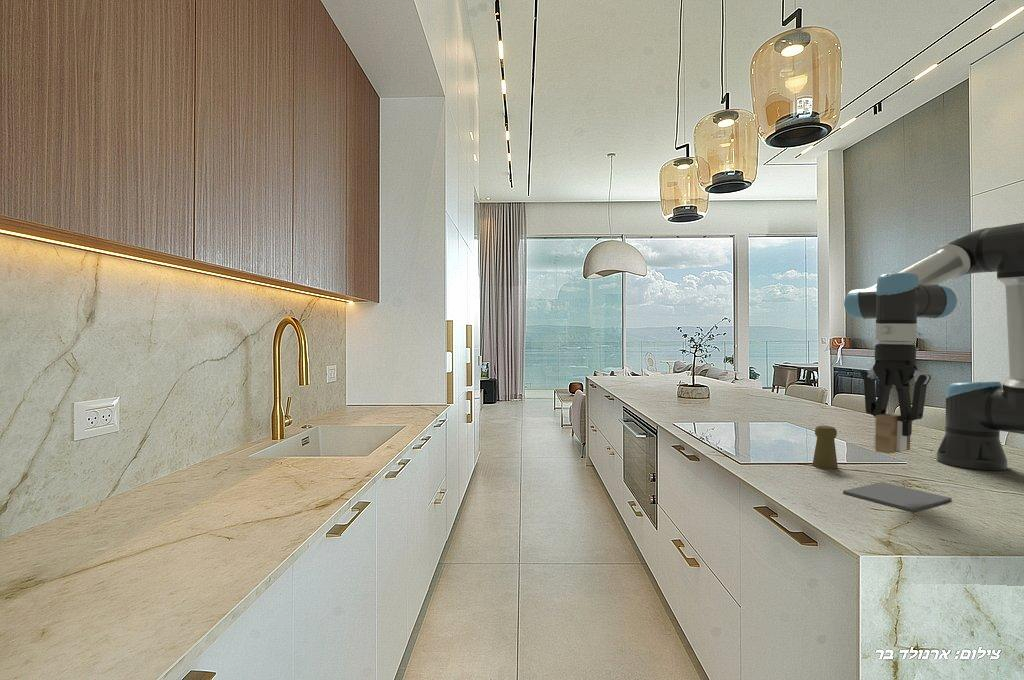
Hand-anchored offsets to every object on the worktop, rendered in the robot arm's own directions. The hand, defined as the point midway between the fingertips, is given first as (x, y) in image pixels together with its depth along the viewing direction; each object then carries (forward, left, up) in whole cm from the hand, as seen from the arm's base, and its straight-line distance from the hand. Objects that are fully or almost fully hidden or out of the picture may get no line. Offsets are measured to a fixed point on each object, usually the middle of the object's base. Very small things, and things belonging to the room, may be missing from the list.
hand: (892, 448), depth 121 cm
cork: (-13, -23, -11) cm, 29 cm away
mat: (0, +1, -11) cm, 11 cm away
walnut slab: (0, 0, 0) cm, 0 cm away
